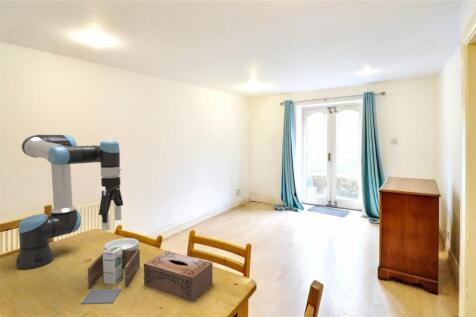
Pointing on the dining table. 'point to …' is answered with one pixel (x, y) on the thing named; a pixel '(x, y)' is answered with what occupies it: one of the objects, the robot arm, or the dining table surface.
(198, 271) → the tissue box cover
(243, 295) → the dining table surface
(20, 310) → the dining table surface
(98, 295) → the grey mat
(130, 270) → the open-sided crate
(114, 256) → the syrup box
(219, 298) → the dining table surface
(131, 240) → the cereal bowl
